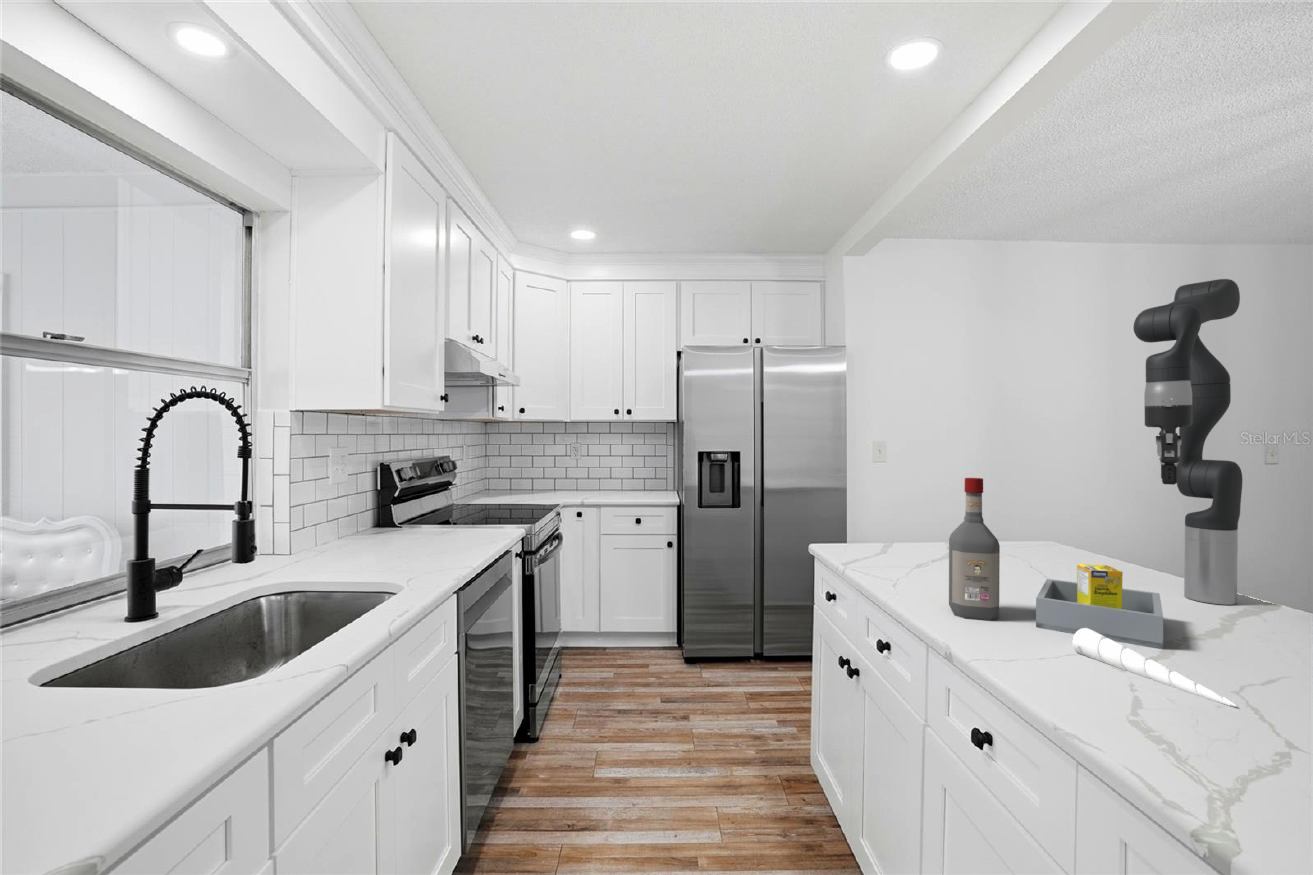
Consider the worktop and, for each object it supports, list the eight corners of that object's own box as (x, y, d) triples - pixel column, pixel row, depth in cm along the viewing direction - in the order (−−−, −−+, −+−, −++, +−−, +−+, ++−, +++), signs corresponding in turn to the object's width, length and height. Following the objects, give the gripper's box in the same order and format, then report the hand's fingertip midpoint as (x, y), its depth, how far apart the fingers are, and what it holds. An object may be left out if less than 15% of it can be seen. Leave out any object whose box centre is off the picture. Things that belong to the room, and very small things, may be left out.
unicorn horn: (1218, 713, 87) (1219, 680, 86) (1069, 654, 110) (1069, 627, 110) (1243, 709, 88) (1243, 677, 88) (1089, 651, 111) (1090, 625, 111)
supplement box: (1123, 625, 121) (1123, 571, 121) (1089, 622, 123) (1089, 569, 123) (1108, 616, 127) (1108, 564, 127) (1076, 614, 129) (1076, 563, 128)
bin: (1046, 604, 139) (1047, 578, 139) (1159, 621, 127) (1159, 593, 126) (1035, 627, 123) (1036, 598, 123) (1162, 649, 111) (1163, 616, 111)
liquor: (1001, 622, 127) (1002, 480, 126) (953, 617, 130) (954, 479, 129) (992, 609, 135) (992, 477, 135) (947, 605, 138) (948, 476, 138)
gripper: (1144, 404, 131) (1145, 478, 132) (1144, 404, 120) (1145, 485, 121) (1190, 403, 127) (1190, 479, 127) (1194, 402, 116) (1195, 486, 116)
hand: (1168, 482), depth 124 cm, fingers open, 8 cm apart
